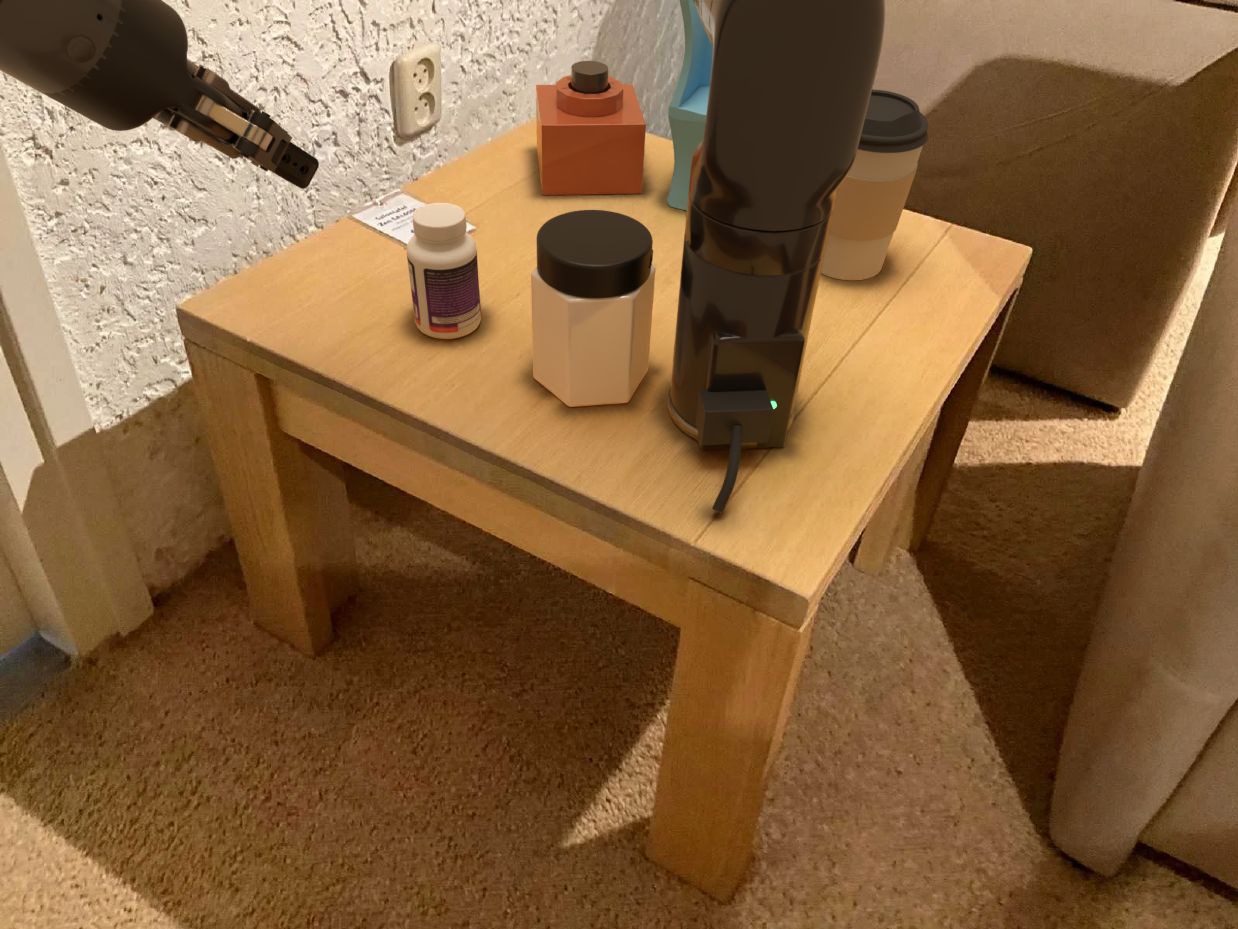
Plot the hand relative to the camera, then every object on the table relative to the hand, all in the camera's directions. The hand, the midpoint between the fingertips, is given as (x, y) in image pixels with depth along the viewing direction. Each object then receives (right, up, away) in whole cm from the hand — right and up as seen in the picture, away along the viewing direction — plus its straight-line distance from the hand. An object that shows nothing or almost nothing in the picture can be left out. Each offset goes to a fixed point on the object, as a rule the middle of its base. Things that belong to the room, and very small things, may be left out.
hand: (306, 172), depth 66 cm
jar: (+19, -13, +11) cm, 25 cm away
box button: (+18, +17, +31) cm, 40 cm away
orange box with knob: (+17, +11, +37) cm, 43 cm away
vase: (+30, +7, +34) cm, 46 cm away
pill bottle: (+7, -8, +16) cm, 19 cm away
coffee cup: (+42, -1, +26) cm, 49 cm away
